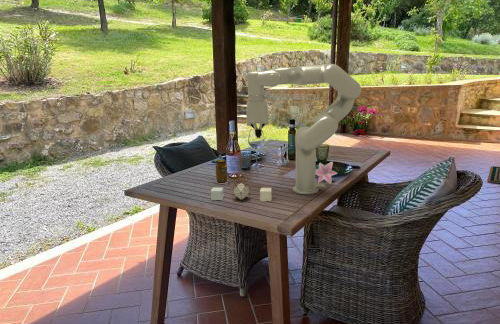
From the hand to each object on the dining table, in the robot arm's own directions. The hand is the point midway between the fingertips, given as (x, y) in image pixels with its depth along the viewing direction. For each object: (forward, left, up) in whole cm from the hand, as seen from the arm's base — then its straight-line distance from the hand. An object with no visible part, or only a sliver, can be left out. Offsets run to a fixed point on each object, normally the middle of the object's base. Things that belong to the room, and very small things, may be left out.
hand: (258, 137), depth 186 cm
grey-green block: (+19, +10, -28) cm, 35 cm away
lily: (-32, -18, -28) cm, 46 cm away
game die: (+8, +10, -28) cm, 30 cm away
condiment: (+22, -15, -28) cm, 38 cm away
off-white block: (-4, +10, -28) cm, 30 cm away
